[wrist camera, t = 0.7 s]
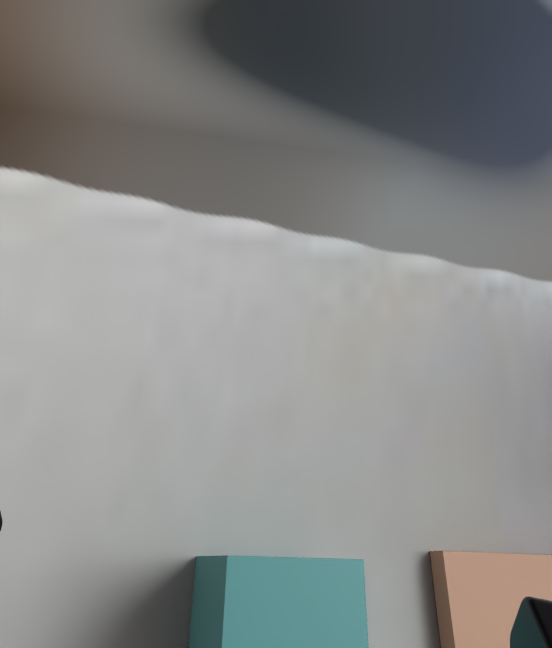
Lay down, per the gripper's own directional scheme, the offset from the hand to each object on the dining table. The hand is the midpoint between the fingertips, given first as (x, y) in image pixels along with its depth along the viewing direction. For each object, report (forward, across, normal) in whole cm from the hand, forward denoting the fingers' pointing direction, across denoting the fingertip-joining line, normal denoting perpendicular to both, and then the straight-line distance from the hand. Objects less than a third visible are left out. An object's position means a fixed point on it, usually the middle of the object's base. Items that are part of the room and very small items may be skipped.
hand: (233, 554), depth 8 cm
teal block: (+7, +1, +12) cm, 14 cm away
